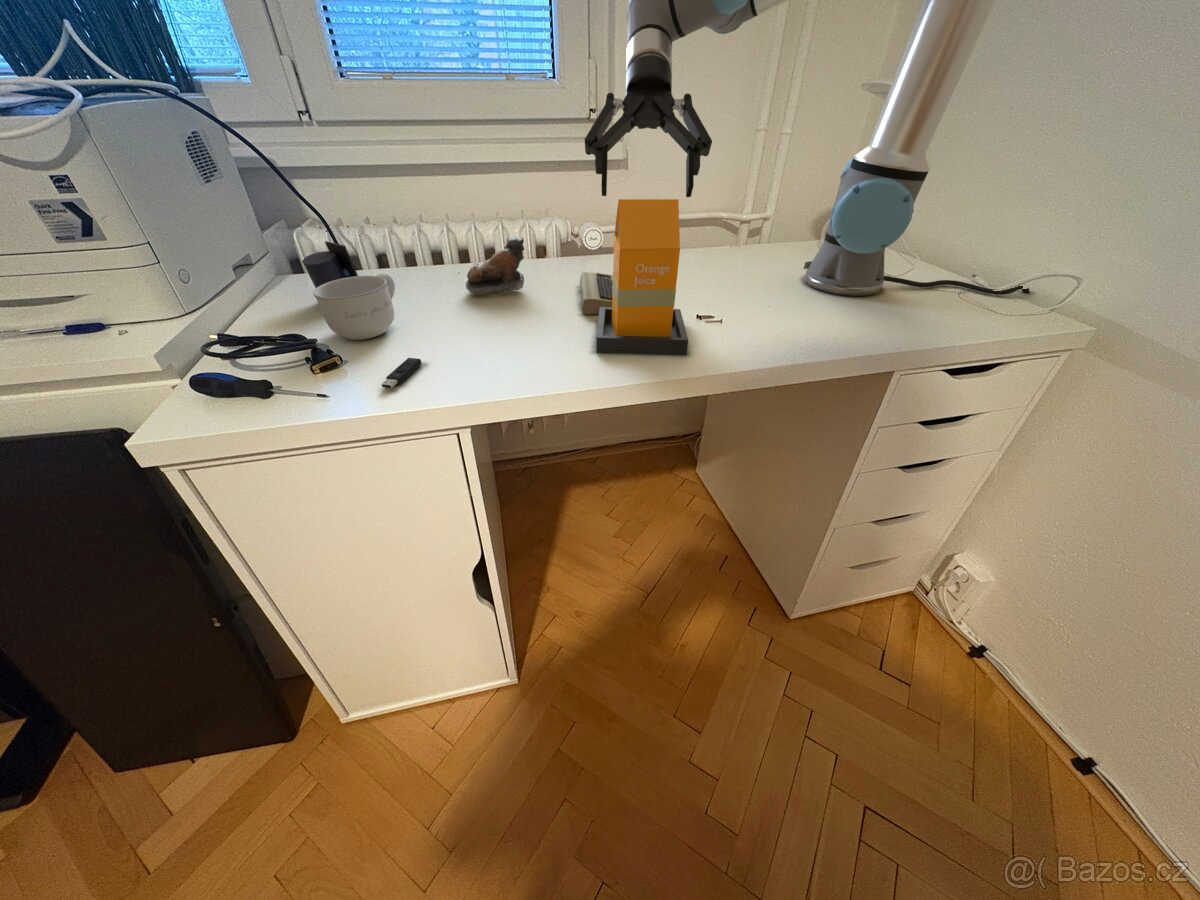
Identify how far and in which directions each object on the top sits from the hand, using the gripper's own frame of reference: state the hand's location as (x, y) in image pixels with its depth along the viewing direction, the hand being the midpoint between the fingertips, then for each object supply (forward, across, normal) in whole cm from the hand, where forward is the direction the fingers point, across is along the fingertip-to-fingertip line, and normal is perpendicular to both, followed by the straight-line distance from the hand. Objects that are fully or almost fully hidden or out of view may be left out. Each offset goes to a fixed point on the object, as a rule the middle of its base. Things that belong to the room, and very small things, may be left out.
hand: (646, 191), depth 76 cm
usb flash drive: (+33, +34, +5) cm, 48 cm away
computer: (+10, +7, -19) cm, 22 cm away
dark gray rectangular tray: (+22, 0, -7) cm, 23 cm away
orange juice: (+21, 0, -6) cm, 22 cm away
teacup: (+22, +45, -7) cm, 51 cm away
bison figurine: (+7, +28, -21) cm, 36 cm away
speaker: (+13, +56, -15) cm, 60 cm away
